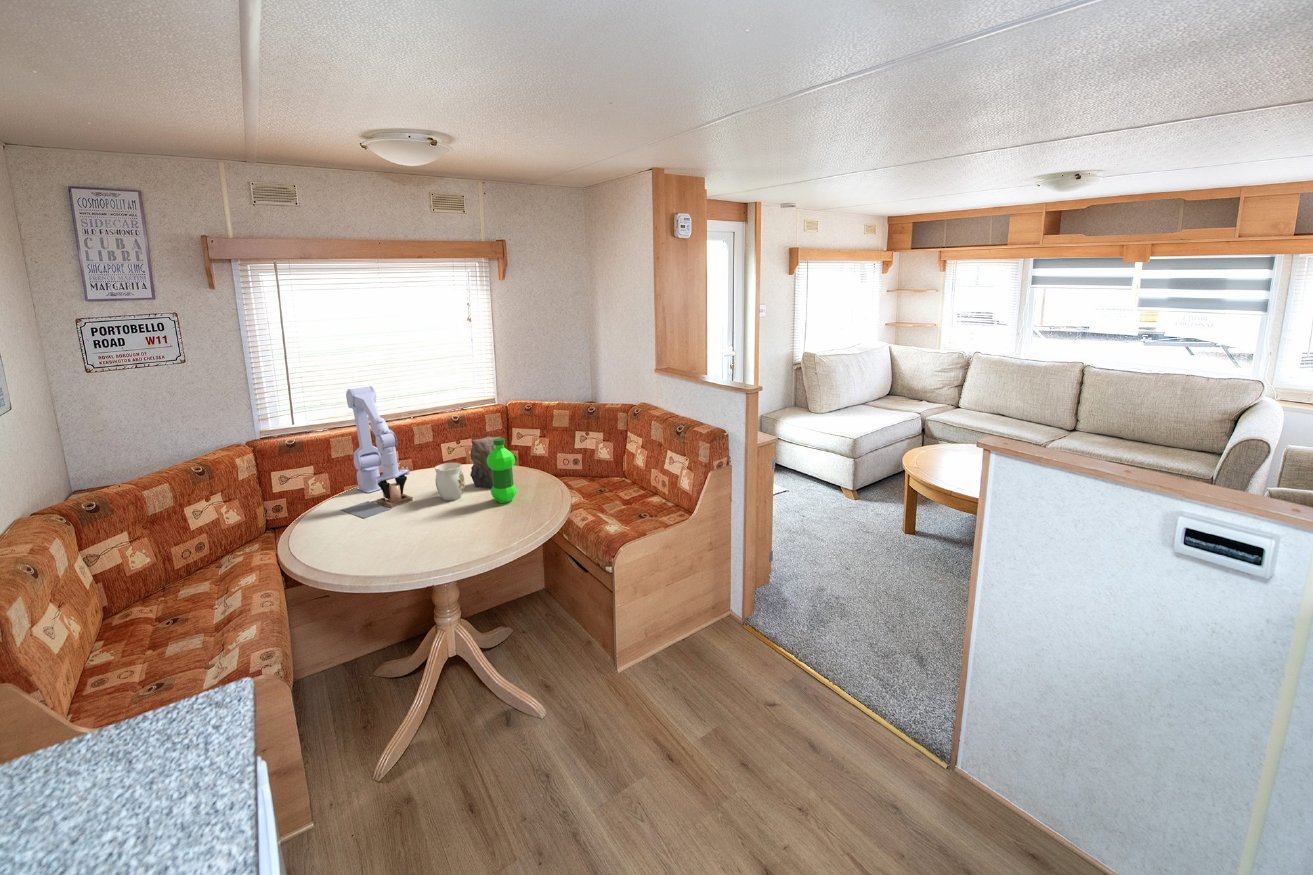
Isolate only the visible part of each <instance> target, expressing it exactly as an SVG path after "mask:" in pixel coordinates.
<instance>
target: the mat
mask: <svg viewBox="0 0 1313 875" xmlns="http://www.w3.org/2000/svg"><path fill="white" fill-rule="evenodd" d="M390 510H391V508H389V507H386V506H383V505H380V504H377V503H375V502H372V501H369V500H367V501H364V502H361V503H358V504H355V505H352V506H349V507H345V508H343V509H341V511H342V512H345V513H348V514H351V515H353V516H356V517H359V518H361V519H367V518H369V517H372V516H375V515H378V514H381V513H384V512H386V511H390Z"/></svg>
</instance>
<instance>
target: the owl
mask: <svg viewBox="0 0 1313 875" xmlns="http://www.w3.org/2000/svg"><path fill="white" fill-rule="evenodd" d="M497 438H503V437H502V436H501V435H500V436H491V435H489V436H485V437H484V438H479V439H472V440H471V444H472V446H471V448H470V453H469V454H470V455H469V456H470V460H471V462H473V464H472V466H471V471H470V474H469V475H470V478H471V479H472V481H473V484H474V488H481V489H490V490H491V489H492V487H493V482H492V472H491V468H490V467H489V466H488V464H487V457H488V455H489V454H490V453H491V452H492V451H493V450H494V449H495V445H494V443H493V440H494V439H497Z"/></svg>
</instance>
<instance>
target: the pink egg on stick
mask: <svg viewBox="0 0 1313 875" xmlns="http://www.w3.org/2000/svg"><path fill="white" fill-rule="evenodd" d="M389 492H390V499H387V502H389V503H393V502H396V501H399V500H402V498H401V491H400V484H398V483H396V482H395V483H394V482H393V483H390V485H389ZM382 496H383V497H382V498H385V495H384V493H383V492H382ZM385 499H386V498H385Z"/></svg>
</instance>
